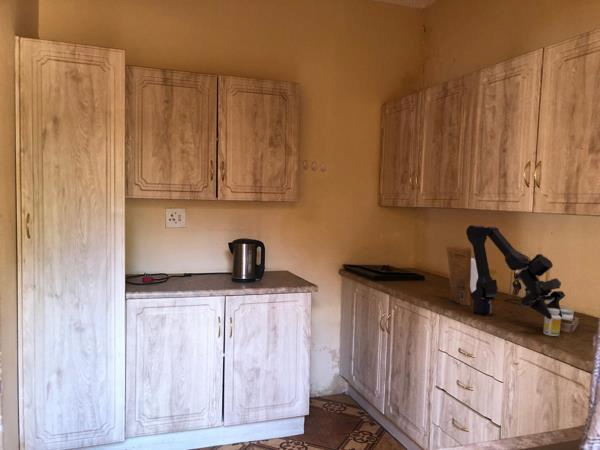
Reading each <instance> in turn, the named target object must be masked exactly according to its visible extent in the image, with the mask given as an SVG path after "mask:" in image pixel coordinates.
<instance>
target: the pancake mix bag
mask: <svg viewBox="0 0 600 450" xmlns="http://www.w3.org/2000/svg"><path fill="white" fill-rule="evenodd" d="M445 253H446V259H447V266H448V273H449V274H448V275H449V285H450V296H449V299H448V300H449V301H451V302H454V303H455V304H458V305H463V306H470V291H471V288H470V279H471V259H472V255H473V254H472V253H473V248H471V247H469V246H463V245H456V244H455V245H453V244H446V245H445Z"/></svg>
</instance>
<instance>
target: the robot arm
mask: <svg viewBox="0 0 600 450" xmlns="http://www.w3.org/2000/svg"><path fill="white" fill-rule="evenodd" d="M465 231H466V233H465V234H466V237H467V240H468V242H469V243H470V244H471V245H472V251H473V255H474V259H475V261H476V267H477V273H478V280H477V282H476V290H475V291H474V292H471V293H470V298H471V300H473V311H471V313H472V314H475V315H476V314H477V315H481V316H482V315H483V316H489V315H491V314H492V309H493V308H492V306H493V305H492V303H491V301H493V300H494V299H495V297H496V295H497V294H498V289H499V287H498V282H497V279H493V277H492V276H491V272H490V268H489V263H488V262H489V261H487V260H488V256H487V250H486V245H485V244H486V241H487V238H489V239H490V240H491V242H492V243H493V244H494V245H495V247H496V248H497V249H498V250H499V251H500V253H501V254H502V255H503V257H504V262H505V263H506V265H507V267H508V268H509V269H510V270H511V271H519V272H516V273H515V275H514V278H513V279H514V281H518V280H519V281H521V282H522V284H523V286H524V287H525V288H524V291H525V292H527V293H526V295H525V294H524V296H523V297H521V298H520V301H519V302H520V304H521V306H522V308H523V307H524V308H525V307H529V308H530V309H532V310H534V311H536V312H538V313H539V314H541V315H542V316H544V318H545V317H547V318H549V319H551V318H552V316H551V314H550V312H549V311H548V308H555V309H559V310H560V308H561V307H560V301H561V300H562V299H564V298H565V297H566V294H565V292H564V291H563V290H556V289H561V286H562V282H561V281H560V280H559V279H558V278H557V277H556V278H553V279H552V278H551V279H550V280H546V281H544V280H540V278H539V277H542V276H543V275H545V273H547V272H549V271H550V270H551V269H552V268H553V266H554V265H553V262H552V261H551V260H550V259H549V258H547V257H546V256H543V254H541V253H539V254H536V255H535V257H534V258H533V259H531V260H530V259H529V258H528V257H527V256H526V255H524V254H523V253H522V252H520V251H518V250H517V249H515V247H513V246H512V244H511V243H510V242H509V241H508V240H507V239H506V237H505V236H504V235H503V234H502V233H501V232H500V229H499V228H498V227H497V226H483V225H473V224H472V225H469V226H468V227H467V228H466V230H465ZM552 290H554V291H552ZM545 302H546V303H547V304H546V303H545ZM558 315H559V316H560V317H562V313H561V310H560V311H559V314H558Z"/></svg>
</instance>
